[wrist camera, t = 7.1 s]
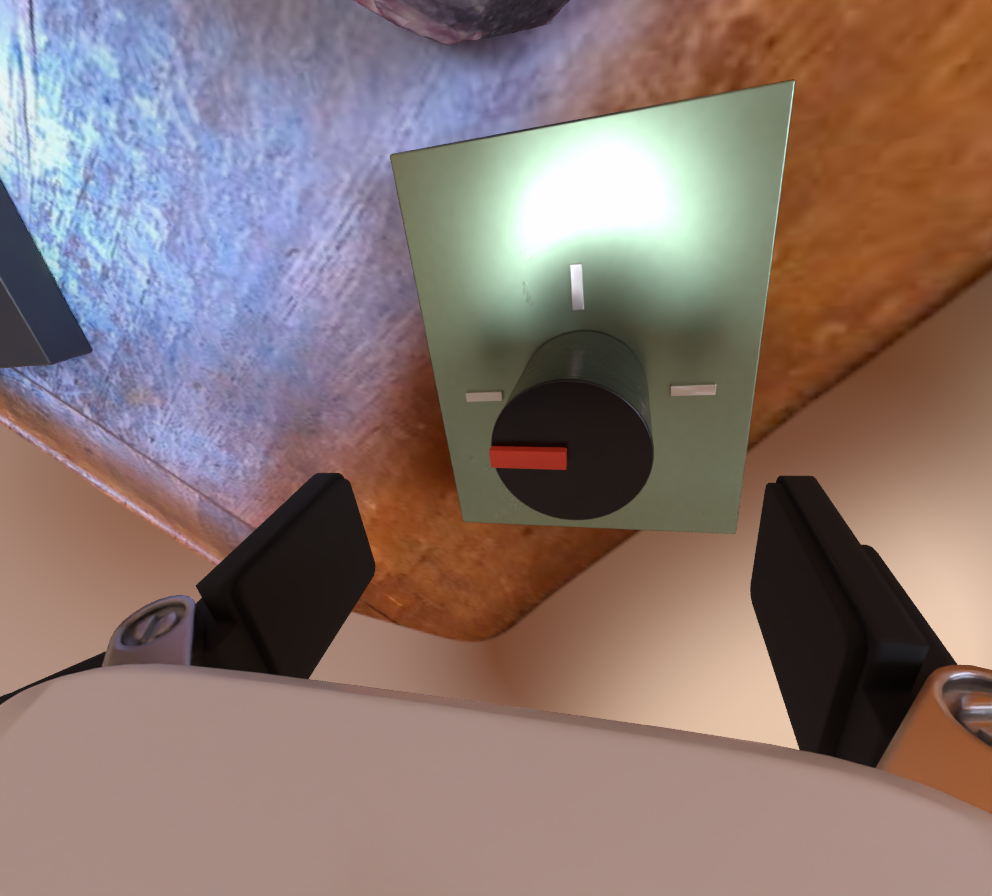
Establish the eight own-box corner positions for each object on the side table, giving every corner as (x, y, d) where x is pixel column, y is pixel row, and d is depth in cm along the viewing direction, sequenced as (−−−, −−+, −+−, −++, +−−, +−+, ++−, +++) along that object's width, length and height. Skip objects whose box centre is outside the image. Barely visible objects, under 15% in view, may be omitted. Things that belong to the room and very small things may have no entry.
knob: (651, 327, 15) (659, 382, 11) (645, 449, 17) (650, 532, 13) (516, 333, 16) (478, 385, 12) (525, 446, 18) (496, 523, 14)
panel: (722, 490, 21) (737, 537, 18) (480, 485, 23) (461, 524, 21) (766, 96, 14) (799, 77, 11) (424, 157, 17) (386, 153, 14)
